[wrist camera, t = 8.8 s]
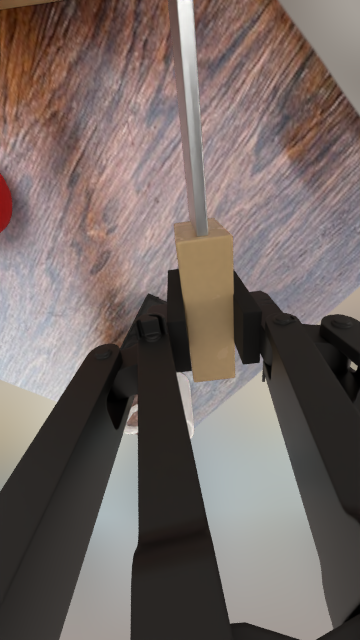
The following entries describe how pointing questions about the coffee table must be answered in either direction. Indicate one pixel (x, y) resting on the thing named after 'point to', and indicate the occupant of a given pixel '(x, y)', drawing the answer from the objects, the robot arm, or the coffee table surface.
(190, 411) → the mug
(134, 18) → the coffee table surface
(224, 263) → the knife
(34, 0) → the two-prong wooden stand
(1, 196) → the fruit
